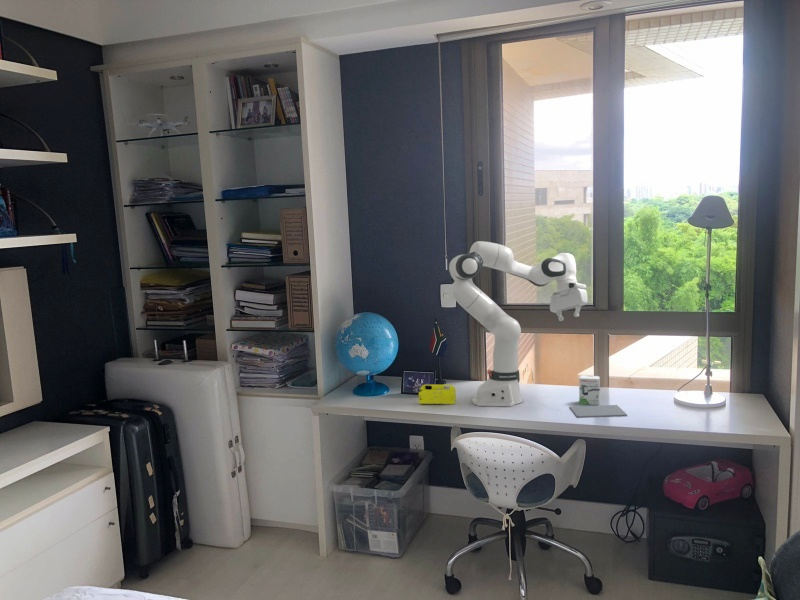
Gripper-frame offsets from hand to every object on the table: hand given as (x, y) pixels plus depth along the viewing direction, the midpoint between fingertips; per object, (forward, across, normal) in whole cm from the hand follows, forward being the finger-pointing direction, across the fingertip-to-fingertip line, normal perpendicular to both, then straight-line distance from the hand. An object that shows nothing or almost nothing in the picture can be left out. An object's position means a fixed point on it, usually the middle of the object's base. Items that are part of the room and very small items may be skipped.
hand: (568, 318), depth 285 cm
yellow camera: (+37, -42, -42) cm, 70 cm away
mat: (+41, +11, +3) cm, 43 cm away
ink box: (+37, 0, +9) cm, 38 cm away
